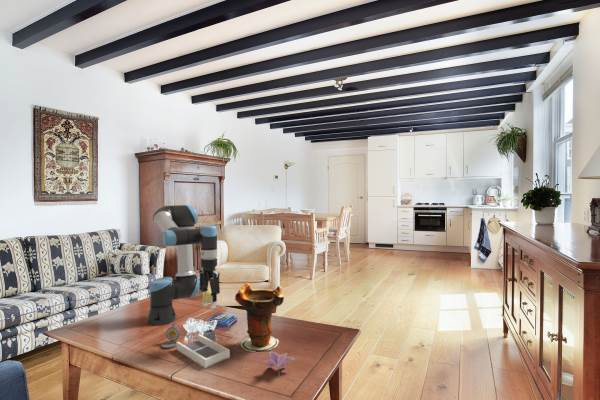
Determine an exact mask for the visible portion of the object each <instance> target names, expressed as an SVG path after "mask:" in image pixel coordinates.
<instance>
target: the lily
mask: <svg viewBox="0 0 600 400" xmlns="http://www.w3.org/2000/svg"><path fill="white" fill-rule="evenodd" d="M295 359H296V357H292V356H288V352H285V353H282V354H279V353H277V352H275V351H269V359H265V360H262V363H267V364H268V366H267V367H268V368H269V369H270V368H272V367H275V366H276V367H277V368H278V370H277V371H278V373H277V374H278V379H280V367H281V368H284V369H286V367H287V365H286V362H288V361H293V360H295Z"/></svg>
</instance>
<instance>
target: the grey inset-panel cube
mask: <svg viewBox="0 0 600 400" xmlns="http://www.w3.org/2000/svg"><path fill="white" fill-rule="evenodd" d="M203 336H204V337H206V338H208V339H210V340H212V341H216V330H213V329H211V328H210V329H207V330H205V331H203Z"/></svg>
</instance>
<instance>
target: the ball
mask: <svg viewBox="0 0 600 400" xmlns="http://www.w3.org/2000/svg"><path fill="white" fill-rule="evenodd" d="M210 294H212V293H211V289H208V291H206V292H205V293H204V294H203V298H202V301H203V300H204V301H205V302H206V303H208V304H211V297H210Z"/></svg>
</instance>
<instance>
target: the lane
mask: <svg viewBox="0 0 600 400" xmlns="http://www.w3.org/2000/svg"><path fill="white" fill-rule="evenodd" d="M175 347H176V351H177V352H179V353H181V354H182V355H183V356H185V357H187V358H188V359H190V360H191V361H193V362H195V363H197V364H198V365H199V366H201V367H203V368H204V369H208V368H210V367H212V366H215V365H216V364H218V363H221V362H224V361H226V360H228V359H230V358H231V356H230V355H231V354H230V353H231V352H230V351H231V350H230V349H229V348H227V347H225V346H223V345H221V344H219V343H217V342H216V341H215V340H213V341H212V340H210V339H208V338H206V337H204V335H202V334H200V333H199V334H197V341H194V342H192V343H191V342H190V343H189V344H186V345H185V344H183V343H181V342H180V341H176V346H175Z"/></svg>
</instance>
